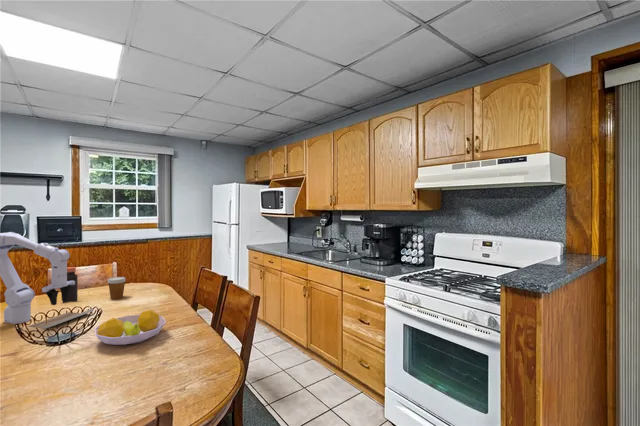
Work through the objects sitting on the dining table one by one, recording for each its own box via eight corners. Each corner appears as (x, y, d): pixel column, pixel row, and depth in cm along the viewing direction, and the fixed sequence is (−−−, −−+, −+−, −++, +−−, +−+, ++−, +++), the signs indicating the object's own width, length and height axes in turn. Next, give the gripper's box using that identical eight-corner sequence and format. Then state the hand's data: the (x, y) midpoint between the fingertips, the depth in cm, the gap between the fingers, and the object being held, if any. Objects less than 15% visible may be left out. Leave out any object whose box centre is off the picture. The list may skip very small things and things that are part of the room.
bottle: (64, 304, 178) (64, 269, 177) (61, 302, 182) (61, 267, 182) (79, 301, 183) (79, 267, 183) (75, 299, 187) (75, 266, 187)
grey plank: (41, 330, 142) (40, 327, 142) (81, 315, 162) (80, 312, 162) (54, 325, 141) (53, 322, 141) (93, 310, 160) (93, 308, 160)
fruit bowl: (104, 330, 144) (104, 305, 144) (169, 324, 153) (169, 301, 153) (80, 358, 118) (80, 328, 117) (160, 349, 127) (161, 321, 126)
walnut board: (26, 329, 143) (26, 326, 143) (68, 314, 163) (68, 312, 163) (39, 330, 142) (39, 327, 142) (80, 315, 162) (80, 313, 162)
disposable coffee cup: (108, 296, 195) (109, 277, 194) (126, 295, 199) (127, 276, 198) (105, 301, 186) (106, 280, 186) (124, 299, 190) (124, 279, 190)
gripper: (51, 278, 144) (51, 308, 144) (80, 272, 158) (80, 299, 158) (38, 278, 145) (38, 307, 145) (68, 271, 159) (68, 298, 159)
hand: (59, 303), depth 152 cm, fingers open, 5 cm apart
